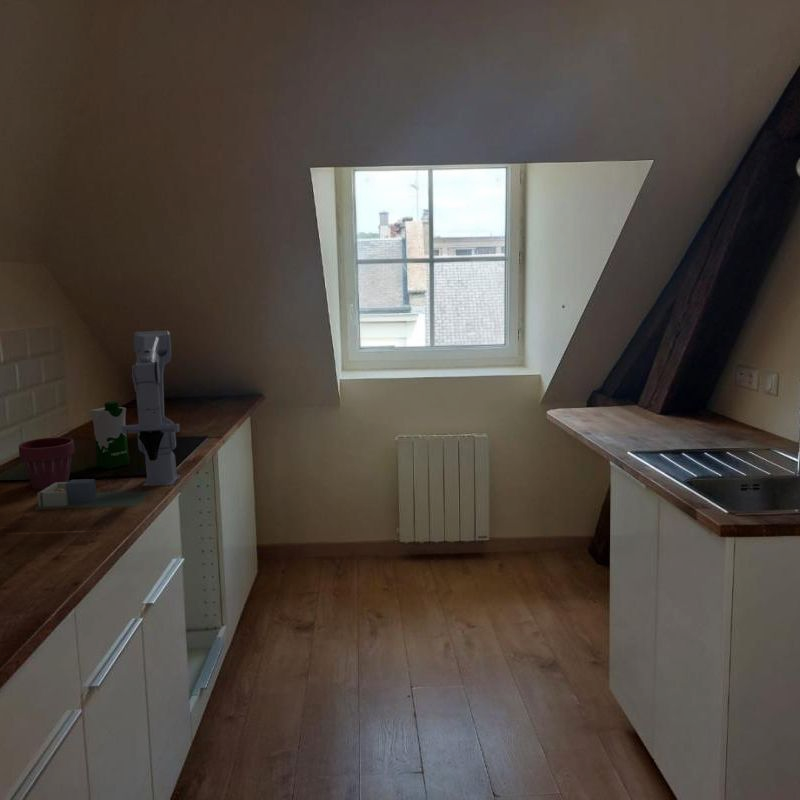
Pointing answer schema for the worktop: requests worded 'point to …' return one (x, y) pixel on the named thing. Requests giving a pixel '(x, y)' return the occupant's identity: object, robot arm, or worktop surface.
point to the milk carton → (110, 436)
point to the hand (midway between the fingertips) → (153, 459)
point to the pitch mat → (108, 500)
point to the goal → (53, 495)
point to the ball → (58, 489)
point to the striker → (81, 490)
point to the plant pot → (47, 460)
